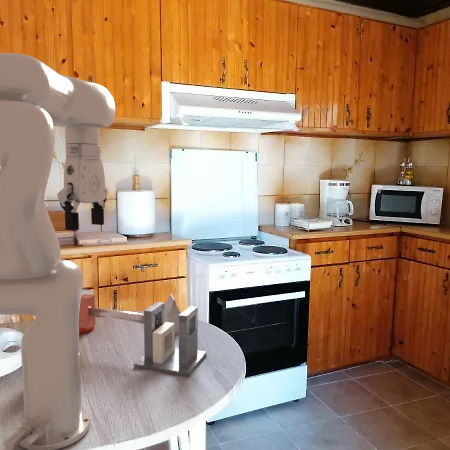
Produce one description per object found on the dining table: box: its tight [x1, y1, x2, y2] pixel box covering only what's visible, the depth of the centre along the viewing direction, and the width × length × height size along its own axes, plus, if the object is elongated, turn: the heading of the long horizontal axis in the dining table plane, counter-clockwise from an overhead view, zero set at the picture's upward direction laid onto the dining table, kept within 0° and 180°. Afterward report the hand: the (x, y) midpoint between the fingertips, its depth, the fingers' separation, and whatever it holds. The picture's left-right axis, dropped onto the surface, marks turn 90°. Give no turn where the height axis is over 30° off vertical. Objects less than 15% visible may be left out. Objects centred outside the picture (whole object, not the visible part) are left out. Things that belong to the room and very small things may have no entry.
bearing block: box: [133, 301, 207, 378], centre depth 105 cm, size 12×14×14 cm
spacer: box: [153, 322, 176, 363], centre depth 105 cm, size 7×2×7 cm, turn 162°
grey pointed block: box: [164, 293, 182, 334], centre depth 125 cm, size 4×7×10 cm, turn 18°
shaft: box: [79, 294, 157, 329], centre depth 109 cm, size 3×21×8 cm, turn 73°
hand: (85, 227), depth 100 cm, fingers open, 9 cm apart
